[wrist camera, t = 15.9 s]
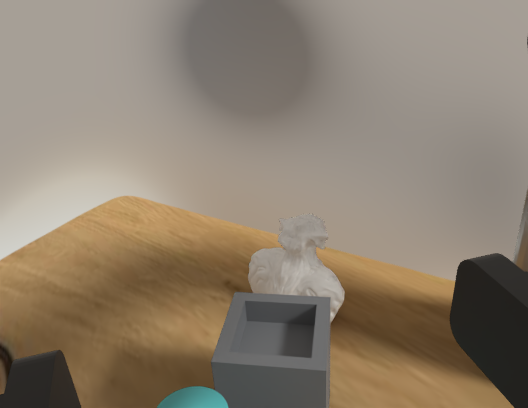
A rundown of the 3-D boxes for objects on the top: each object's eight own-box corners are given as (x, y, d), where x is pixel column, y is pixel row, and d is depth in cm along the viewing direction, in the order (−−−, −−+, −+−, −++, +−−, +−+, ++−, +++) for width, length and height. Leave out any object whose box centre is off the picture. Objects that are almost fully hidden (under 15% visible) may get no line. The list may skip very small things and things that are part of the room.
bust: (345, 346, 50) (385, 243, 50) (308, 343, 44) (354, 226, 44) (259, 300, 57) (295, 210, 58) (217, 292, 51) (257, 192, 52)
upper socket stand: (244, 383, 43) (235, 291, 39) (329, 391, 42) (330, 297, 37) (224, 461, 37) (211, 361, 32) (325, 472, 35) (326, 370, 31)
